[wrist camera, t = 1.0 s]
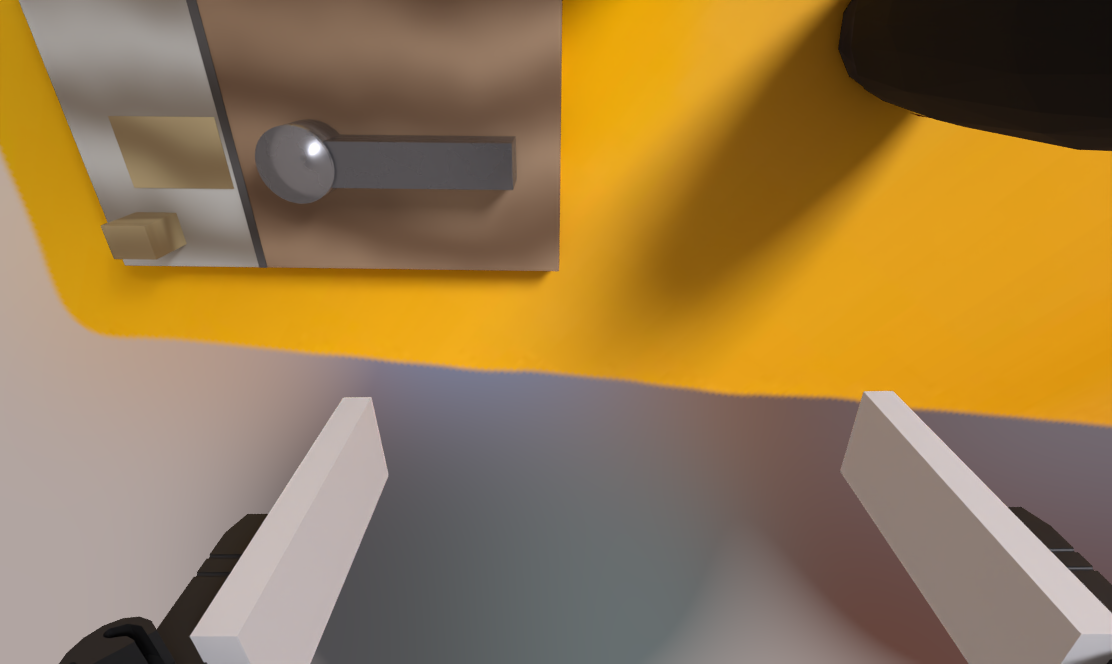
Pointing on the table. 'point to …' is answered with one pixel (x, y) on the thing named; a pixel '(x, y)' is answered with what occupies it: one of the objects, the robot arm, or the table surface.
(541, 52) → the board
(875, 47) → the portable speaker
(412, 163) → the door lever handle
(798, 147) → the table surface
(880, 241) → the table surface
